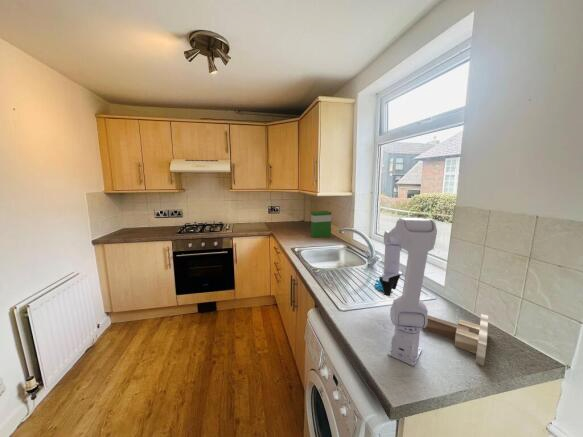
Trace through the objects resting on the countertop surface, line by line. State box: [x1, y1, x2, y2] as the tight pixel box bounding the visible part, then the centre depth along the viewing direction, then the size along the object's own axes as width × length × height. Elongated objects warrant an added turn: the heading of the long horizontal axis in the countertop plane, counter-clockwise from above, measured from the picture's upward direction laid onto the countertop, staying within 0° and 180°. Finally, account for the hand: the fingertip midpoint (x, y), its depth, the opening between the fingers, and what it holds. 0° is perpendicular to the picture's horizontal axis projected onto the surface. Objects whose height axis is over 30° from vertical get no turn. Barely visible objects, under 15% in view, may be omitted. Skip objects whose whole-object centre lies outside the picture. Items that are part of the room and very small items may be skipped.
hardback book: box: [310, 210, 332, 239], centre depth 235 cm, size 18×7×24 cm, turn 108°
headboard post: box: [454, 313, 489, 367], centre depth 83 cm, size 20×8×7 cm, turn 141°
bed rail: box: [422, 314, 470, 341], centre depth 88 cm, size 3×14×5 cm, turn 50°
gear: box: [374, 274, 394, 294], centre depth 124 cm, size 11×6×10 cm
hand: (389, 291), depth 102 cm, fingers open, 7 cm apart
